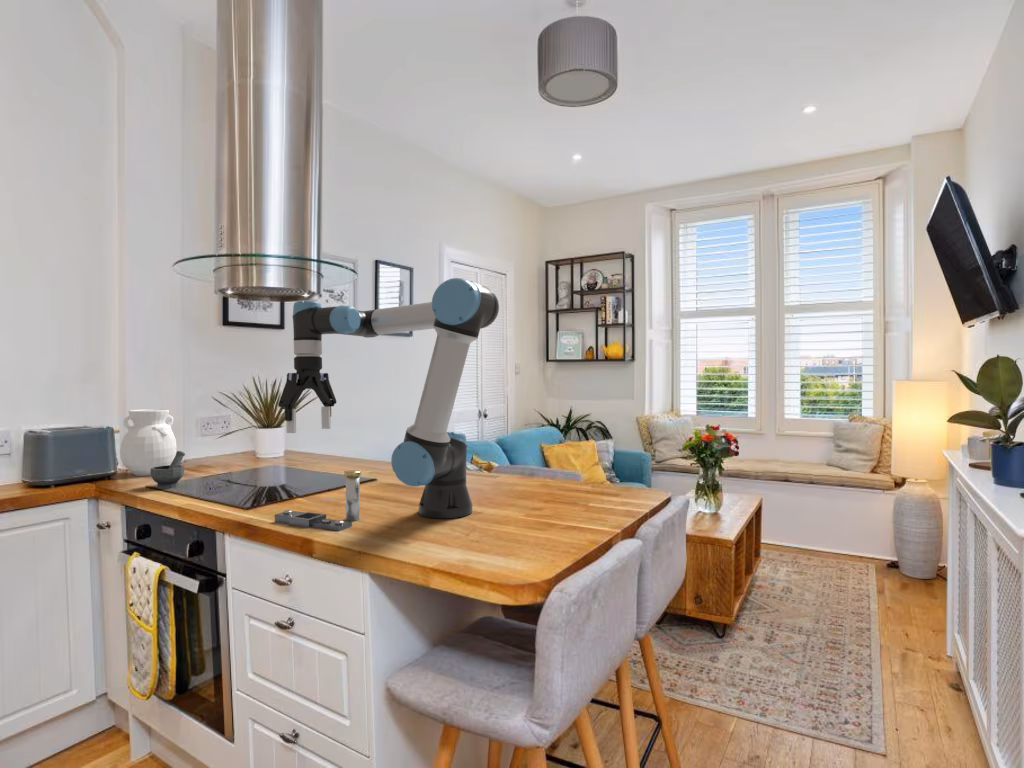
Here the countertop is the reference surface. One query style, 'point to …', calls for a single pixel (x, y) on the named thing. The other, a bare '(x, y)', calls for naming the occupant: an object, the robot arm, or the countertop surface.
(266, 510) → the countertop surface
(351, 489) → the pin
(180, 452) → the mortar and pestle
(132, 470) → the white handled vase
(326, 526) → the grey mounting bracket
